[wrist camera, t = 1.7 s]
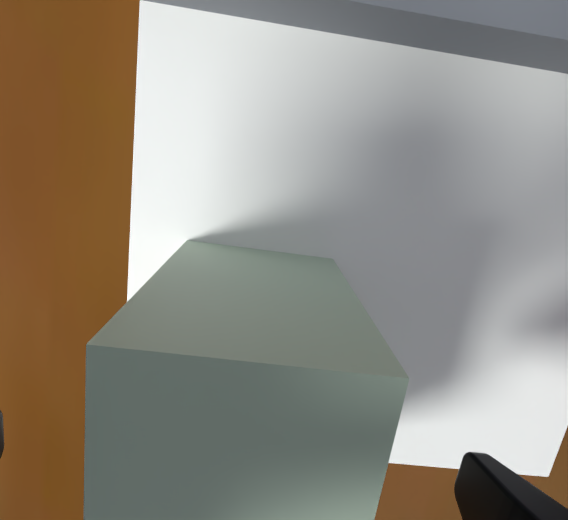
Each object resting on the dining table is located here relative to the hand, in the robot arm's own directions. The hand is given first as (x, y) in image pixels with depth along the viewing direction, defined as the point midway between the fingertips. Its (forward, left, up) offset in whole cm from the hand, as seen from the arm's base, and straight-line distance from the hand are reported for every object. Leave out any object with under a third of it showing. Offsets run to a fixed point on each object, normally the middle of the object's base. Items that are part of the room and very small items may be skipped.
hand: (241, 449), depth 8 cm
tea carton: (0, 0, -4) cm, 4 cm away
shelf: (+3, -3, -5) cm, 7 cm away
